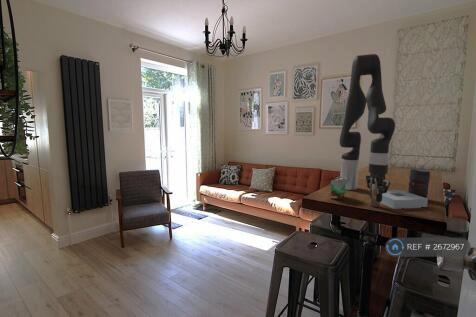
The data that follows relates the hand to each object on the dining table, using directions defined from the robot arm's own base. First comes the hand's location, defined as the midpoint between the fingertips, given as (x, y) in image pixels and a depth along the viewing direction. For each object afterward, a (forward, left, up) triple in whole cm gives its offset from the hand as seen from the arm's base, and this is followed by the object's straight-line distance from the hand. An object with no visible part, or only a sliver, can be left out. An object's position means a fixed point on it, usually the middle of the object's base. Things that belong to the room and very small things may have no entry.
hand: (375, 199), depth 112 cm
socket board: (-4, +14, -3) cm, 15 cm away
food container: (-15, -9, -3) cm, 18 cm away
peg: (0, 0, -3) cm, 3 cm away
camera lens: (-8, +28, -3) cm, 29 cm away
